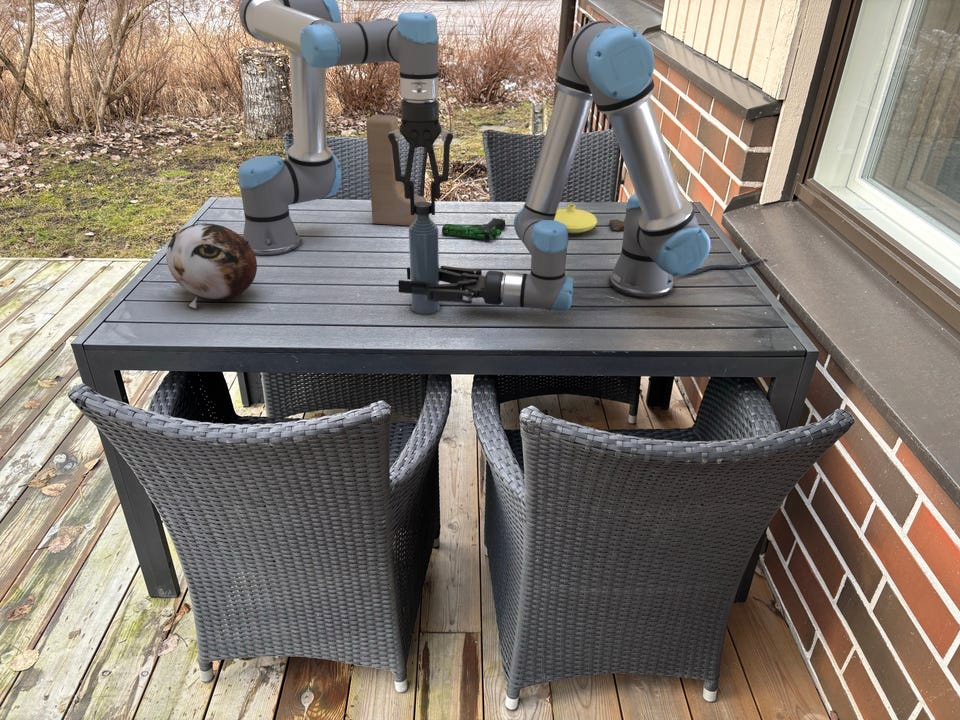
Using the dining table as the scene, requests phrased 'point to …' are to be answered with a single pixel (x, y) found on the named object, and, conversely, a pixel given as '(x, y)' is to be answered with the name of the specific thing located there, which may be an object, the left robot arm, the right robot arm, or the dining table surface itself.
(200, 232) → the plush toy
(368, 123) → the decorative block
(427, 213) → the cap
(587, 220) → the yellow lid
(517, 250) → the dining table surface
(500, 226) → the handgun
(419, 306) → the bottle
